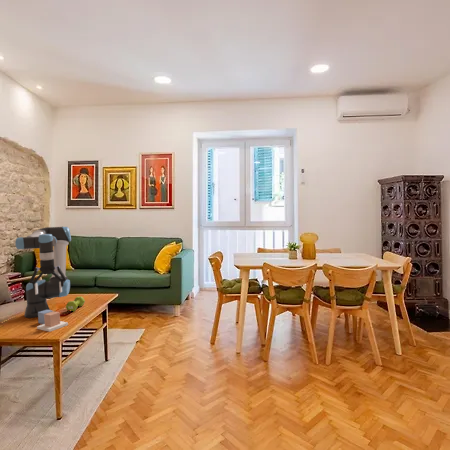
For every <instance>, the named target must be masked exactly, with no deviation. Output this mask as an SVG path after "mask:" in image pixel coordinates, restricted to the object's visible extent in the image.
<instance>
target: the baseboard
mask: <svg viewBox="0 0 450 450" xmlns="http://www.w3.org/2000/svg"><path fill="white" fill-rule="evenodd" d="M66 326H69V322H67V321H62V320H60V324H58V325H55V326H52V327H49V326H45V324H40V325H38V326H36V329H37V330H41V331H45V332H50V333H51V332H54V331H56V330H58V329H61V328H64V327H66Z"/></svg>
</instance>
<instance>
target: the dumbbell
mask: <svg viewBox="0 0 450 450" xmlns="http://www.w3.org/2000/svg"><path fill="white" fill-rule="evenodd" d="M85 302H86V300H85V298H84V297H83V296H76V297H75V298H74V300H72V301H71V300H70V301H68V302H66V305H65V309H66V311H68V310H71V311H73V312H75V311H76V310H77V308H78V306H79V307H83V306H84V304H85ZM73 312H72V313H73Z"/></svg>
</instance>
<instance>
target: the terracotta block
mask: <svg viewBox="0 0 450 450" xmlns="http://www.w3.org/2000/svg"><path fill="white" fill-rule="evenodd" d="M52 311H53V312H50V313H46V314H44V321H45V326H49V327H52V326H55V325H58V324H60V321H61V314H60V313H61V312H59V311H55V310H52Z"/></svg>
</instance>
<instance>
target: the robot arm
mask: <svg viewBox="0 0 450 450" xmlns="http://www.w3.org/2000/svg"><path fill="white" fill-rule="evenodd" d="M71 241H72V236H71V230H70V227H68V226H46V227H41V228H39V229H37V230H34V231H33V232H32V233H30V234H29V235H27V236H25V237H24V236H23V237H22V236H20V237H17V238H16V239H15V241H14V242H15V243H14V245H15V249H17V250H30V249H31V250H32V249H33V250H34V249H39V266H40V267H37V266H36V267H34V270H33V271H34V272H33V274H32V276H31V278H30V280H29V282H28V283H27V284H26V285H25V286H26V287H25V292H26V293H25V295H26V307H25V310H24V318H27V319H29V318H30V319H31V318H33V319H34V318H38V312H41V311H44V310H51V309H50V307H49V305H48V302H47V299H56V298H63V297H67V296H68V294H69V293H70V289H71V280H70V279H68V276H66V271H67V270H66V268H67V246H68V245H69V244H70V242H71ZM39 271H40V273H39V275H37V274H38V272H39ZM43 275H51V277H49V281H46V279H41V277H42V276H43ZM36 276H37V277H36Z"/></svg>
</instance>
